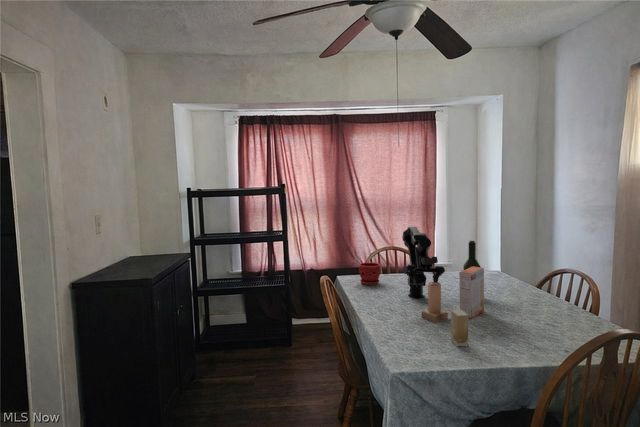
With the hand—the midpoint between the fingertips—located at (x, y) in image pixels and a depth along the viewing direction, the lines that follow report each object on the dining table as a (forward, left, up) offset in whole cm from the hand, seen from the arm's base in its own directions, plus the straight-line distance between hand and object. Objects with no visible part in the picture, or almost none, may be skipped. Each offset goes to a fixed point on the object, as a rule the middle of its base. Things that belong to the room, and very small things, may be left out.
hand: (426, 287), depth 179 cm
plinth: (+4, +8, -12) cm, 15 cm away
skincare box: (+17, +32, -12) cm, 39 cm away
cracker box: (-14, +14, -12) cm, 23 cm away
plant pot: (-10, -56, -12) cm, 58 cm away
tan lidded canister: (+4, +8, -9) cm, 13 cm away
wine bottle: (-35, -2, -12) cm, 37 cm away
